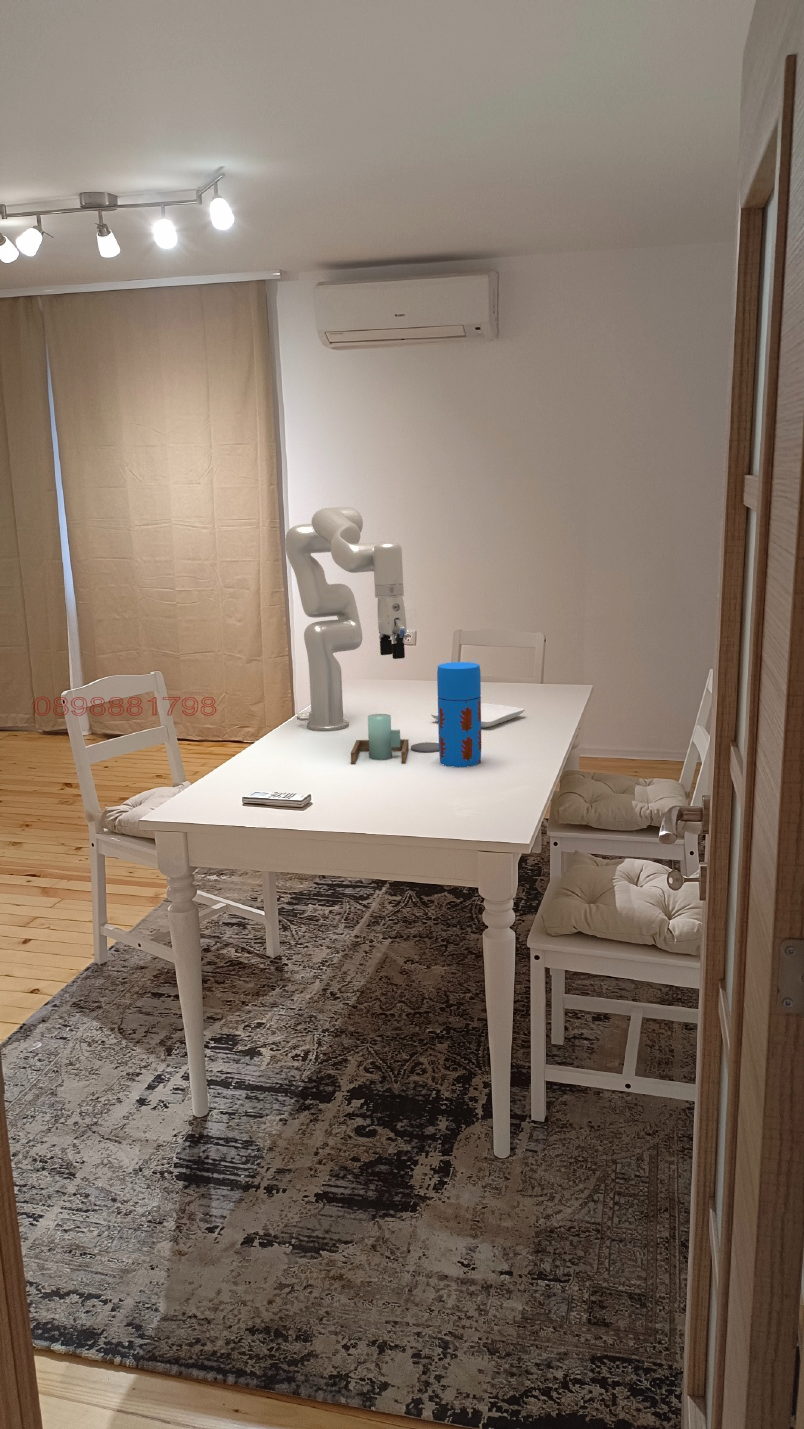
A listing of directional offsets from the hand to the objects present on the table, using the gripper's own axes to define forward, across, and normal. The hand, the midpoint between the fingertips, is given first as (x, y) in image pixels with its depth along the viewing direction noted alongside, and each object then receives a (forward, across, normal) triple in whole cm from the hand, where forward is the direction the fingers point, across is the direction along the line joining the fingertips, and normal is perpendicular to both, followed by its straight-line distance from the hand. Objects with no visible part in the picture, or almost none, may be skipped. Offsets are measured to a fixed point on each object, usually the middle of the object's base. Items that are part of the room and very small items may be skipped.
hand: (392, 656), depth 272 cm
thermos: (+27, -17, -11) cm, 34 cm away
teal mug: (+26, -4, +5) cm, 27 cm away
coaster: (+26, 0, -8) cm, 27 cm away
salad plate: (+26, +26, -35) cm, 51 cm away
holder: (+26, -3, +6) cm, 27 cm away
